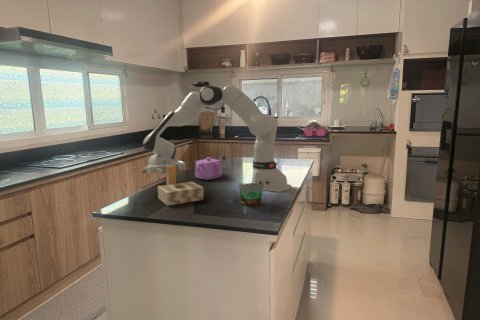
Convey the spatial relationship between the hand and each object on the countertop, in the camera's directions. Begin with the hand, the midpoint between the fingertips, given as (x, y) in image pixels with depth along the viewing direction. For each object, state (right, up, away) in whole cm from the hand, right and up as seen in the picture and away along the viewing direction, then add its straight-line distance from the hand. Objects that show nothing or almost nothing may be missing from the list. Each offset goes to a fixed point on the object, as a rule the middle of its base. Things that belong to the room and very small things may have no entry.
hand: (171, 170), depth 171 cm
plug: (0, -12, +3) cm, 12 cm away
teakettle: (+16, -5, +39) cm, 42 cm away
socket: (+6, -14, -8) cm, 17 cm away
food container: (+41, -16, -18) cm, 47 cm away
